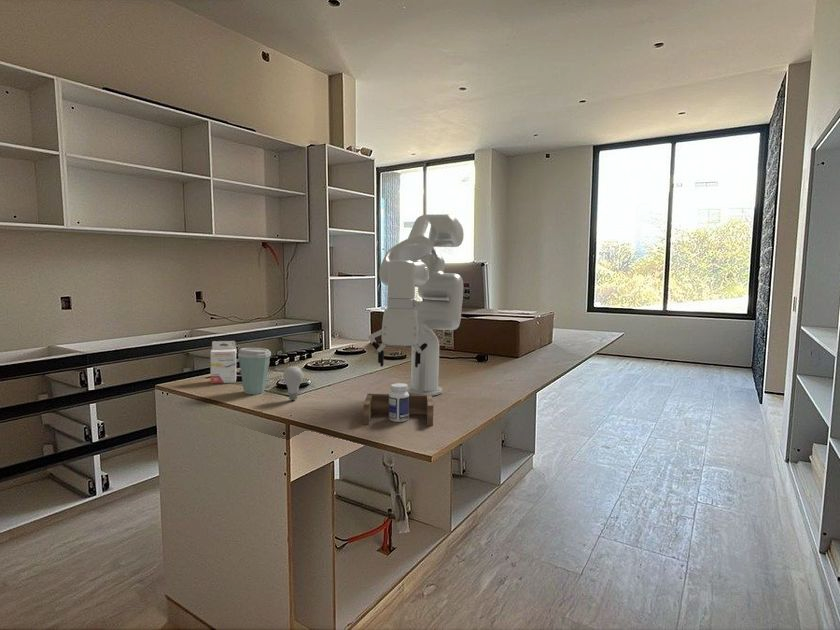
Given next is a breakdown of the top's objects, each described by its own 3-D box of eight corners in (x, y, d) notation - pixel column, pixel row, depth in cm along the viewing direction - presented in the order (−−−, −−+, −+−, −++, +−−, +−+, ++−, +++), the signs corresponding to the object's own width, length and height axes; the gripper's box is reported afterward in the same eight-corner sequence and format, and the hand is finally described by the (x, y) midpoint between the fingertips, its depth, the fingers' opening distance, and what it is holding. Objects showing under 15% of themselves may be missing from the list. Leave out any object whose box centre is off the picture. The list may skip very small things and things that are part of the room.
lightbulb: (295, 404, 147) (295, 369, 146) (279, 401, 150) (279, 367, 148) (307, 399, 153) (307, 365, 152) (290, 397, 155) (290, 363, 154)
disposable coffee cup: (256, 386, 167) (256, 344, 166) (278, 391, 162) (278, 347, 161) (231, 393, 158) (230, 348, 157) (253, 398, 153) (253, 352, 151)
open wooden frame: (367, 411, 141) (367, 393, 141) (431, 412, 142) (431, 394, 141) (363, 424, 130) (363, 404, 129) (432, 425, 130) (433, 405, 130)
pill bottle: (408, 416, 138) (409, 382, 137) (408, 422, 132) (409, 387, 131) (388, 416, 138) (389, 382, 137) (388, 422, 132) (388, 387, 131)
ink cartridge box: (210, 384, 170) (209, 343, 169) (211, 380, 175) (210, 341, 173) (236, 382, 173) (235, 342, 171) (236, 379, 177) (236, 340, 176)
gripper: (431, 305, 136) (429, 364, 137) (370, 303, 135) (369, 363, 137) (432, 306, 128) (430, 369, 129) (368, 304, 128) (366, 367, 129)
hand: (399, 366), depth 133 cm, fingers open, 9 cm apart
